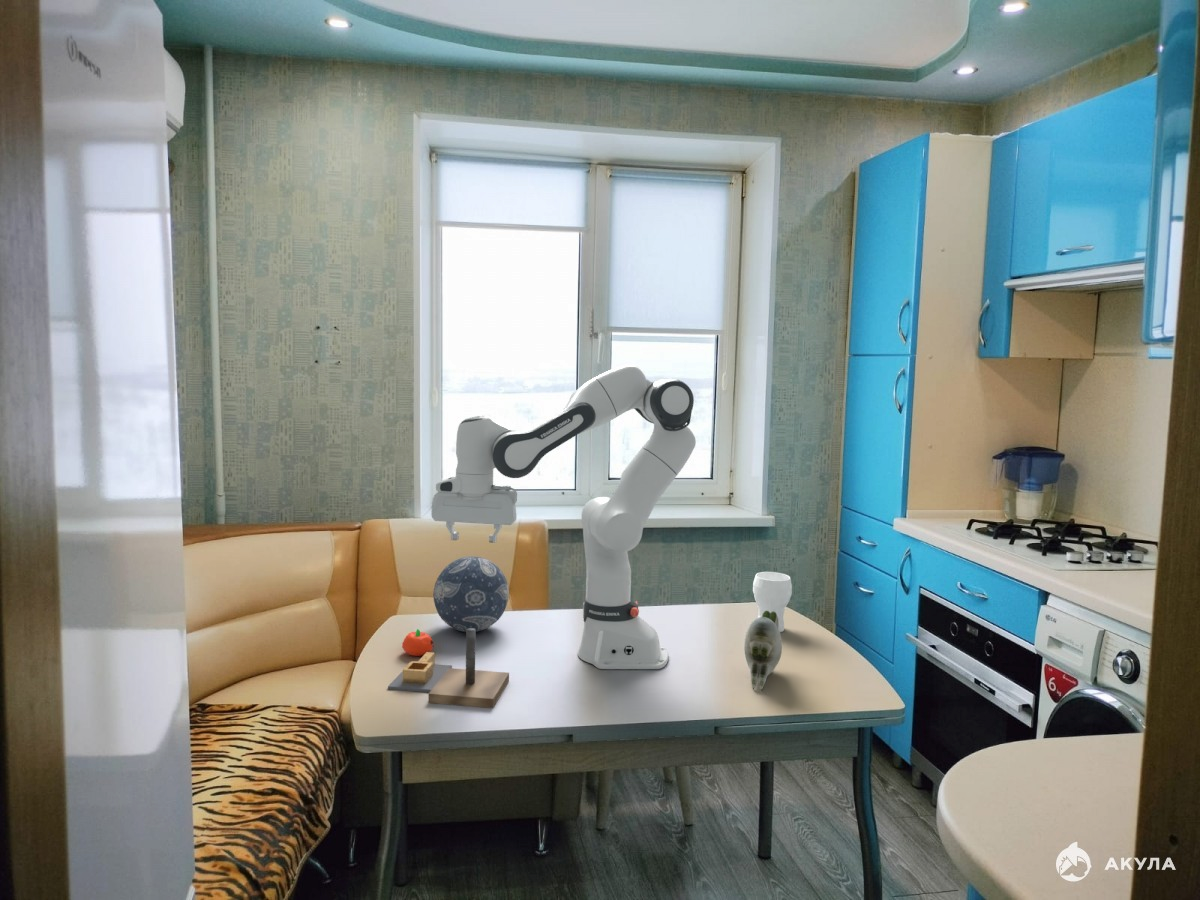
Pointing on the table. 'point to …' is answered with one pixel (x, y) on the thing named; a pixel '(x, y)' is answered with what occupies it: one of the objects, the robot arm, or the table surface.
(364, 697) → the table surface
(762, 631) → the toy
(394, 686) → the mat
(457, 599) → the decorative ball
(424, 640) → the pumpkin
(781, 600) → the cup
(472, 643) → the stand
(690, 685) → the table surface
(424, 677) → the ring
